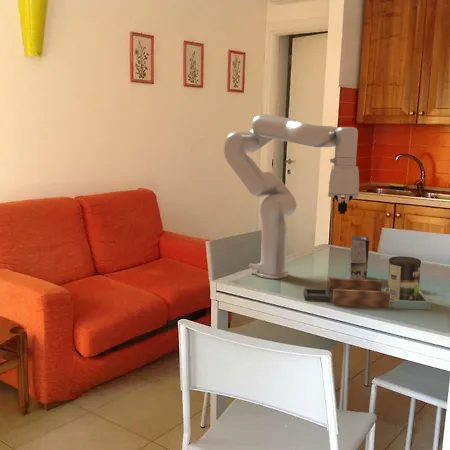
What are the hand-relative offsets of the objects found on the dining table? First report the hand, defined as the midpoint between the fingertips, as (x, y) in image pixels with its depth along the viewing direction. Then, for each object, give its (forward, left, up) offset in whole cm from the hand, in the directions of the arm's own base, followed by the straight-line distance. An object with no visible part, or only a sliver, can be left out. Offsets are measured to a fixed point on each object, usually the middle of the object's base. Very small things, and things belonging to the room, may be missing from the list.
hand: (342, 213), depth 197 cm
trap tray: (-9, -15, -27) cm, 32 cm away
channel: (+5, -15, -27) cm, 31 cm away
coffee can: (+20, -14, -27) cm, 37 cm away
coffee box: (+9, +12, -27) cm, 31 cm away
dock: (+21, -15, -27) cm, 37 cm away
